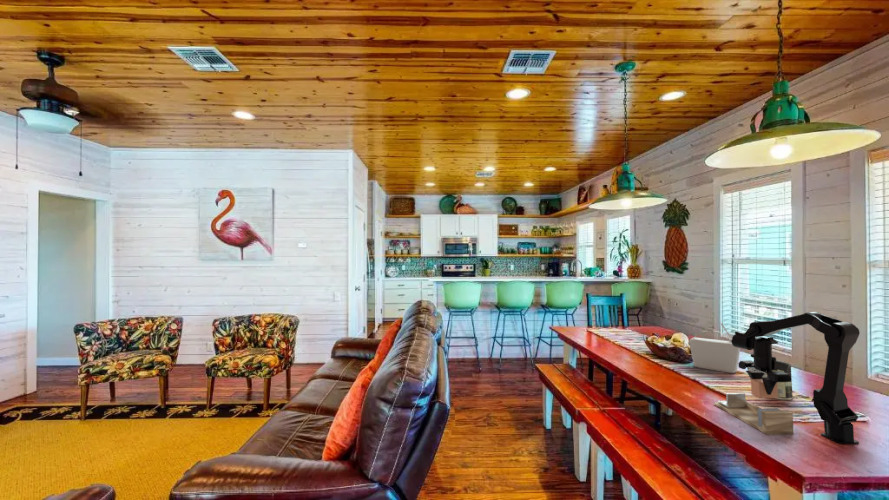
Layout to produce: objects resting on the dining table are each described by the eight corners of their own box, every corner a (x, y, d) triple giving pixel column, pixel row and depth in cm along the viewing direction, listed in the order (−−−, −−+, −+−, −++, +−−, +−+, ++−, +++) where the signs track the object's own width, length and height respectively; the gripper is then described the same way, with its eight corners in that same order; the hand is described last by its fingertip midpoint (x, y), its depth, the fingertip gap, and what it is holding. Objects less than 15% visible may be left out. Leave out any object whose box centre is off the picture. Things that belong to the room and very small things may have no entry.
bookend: (745, 407, 148) (745, 393, 148) (728, 407, 148) (727, 394, 148) (734, 401, 154) (734, 388, 154) (717, 402, 154) (717, 388, 154)
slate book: (785, 428, 130) (784, 411, 131) (765, 429, 131) (764, 412, 131) (777, 424, 133) (777, 408, 134) (758, 425, 134) (757, 408, 134)
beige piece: (793, 434, 128) (792, 412, 128) (767, 434, 129) (766, 413, 129) (736, 404, 154) (735, 386, 154) (714, 404, 155) (713, 386, 155)
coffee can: (782, 391, 166) (780, 360, 166) (799, 400, 156) (797, 367, 156) (756, 390, 168) (754, 359, 168) (771, 399, 158) (769, 366, 158)
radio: (742, 371, 195) (740, 323, 195) (739, 375, 189) (737, 326, 189) (693, 363, 211) (691, 319, 211) (689, 366, 205) (687, 321, 205)
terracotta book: (777, 397, 144) (777, 382, 145) (759, 397, 145) (759, 382, 145) (769, 393, 148) (768, 378, 149) (751, 394, 149) (750, 379, 149)
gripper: (805, 359, 137) (807, 401, 137) (763, 346, 156) (765, 383, 156) (775, 360, 138) (777, 402, 137) (736, 347, 156) (738, 384, 156)
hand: (764, 392), depth 147 cm, fingers closed on terracotta book, 4 cm apart
